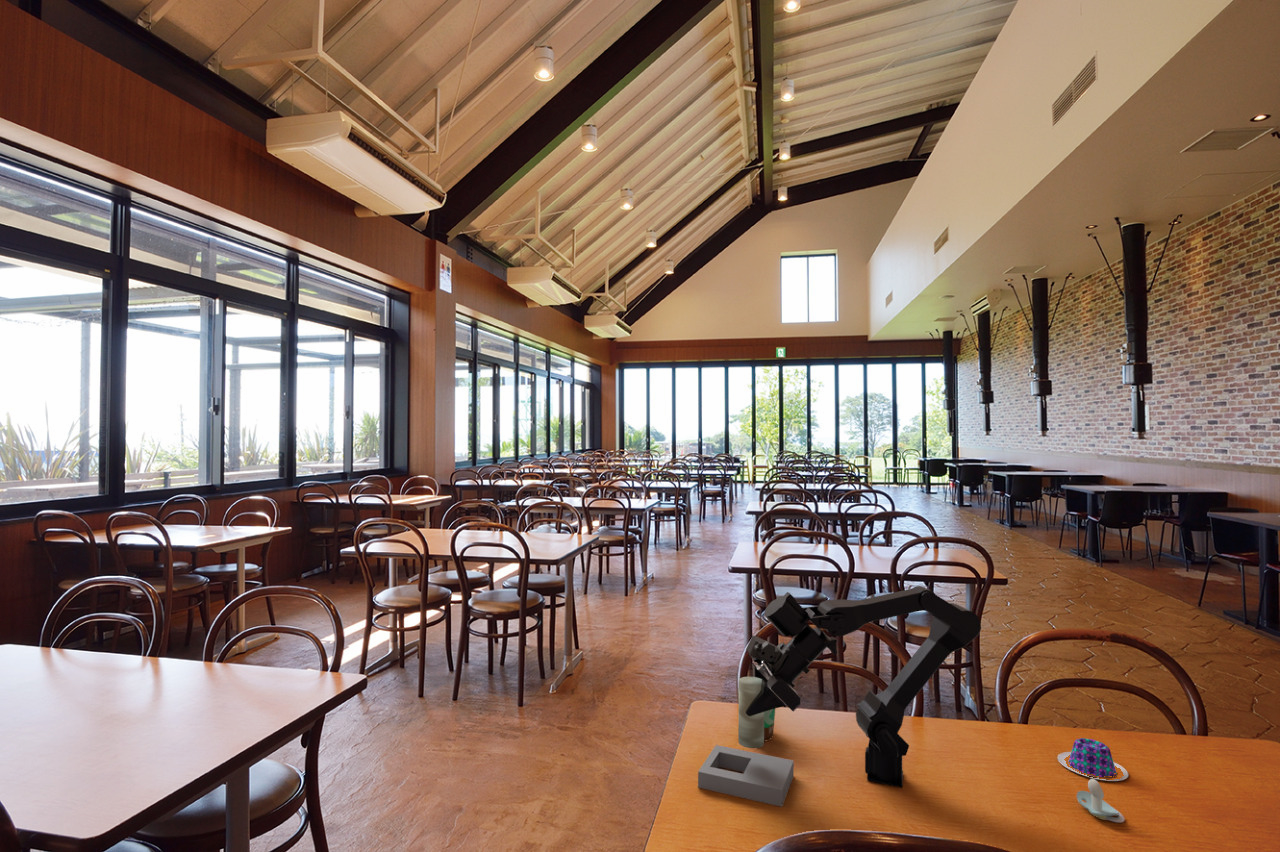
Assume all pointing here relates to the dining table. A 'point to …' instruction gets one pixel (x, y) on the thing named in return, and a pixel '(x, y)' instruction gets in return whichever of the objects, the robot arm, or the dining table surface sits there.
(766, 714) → the food container
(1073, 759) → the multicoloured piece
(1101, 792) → the pacifier
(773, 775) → the pocket board
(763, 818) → the dining table surface
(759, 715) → the peg
